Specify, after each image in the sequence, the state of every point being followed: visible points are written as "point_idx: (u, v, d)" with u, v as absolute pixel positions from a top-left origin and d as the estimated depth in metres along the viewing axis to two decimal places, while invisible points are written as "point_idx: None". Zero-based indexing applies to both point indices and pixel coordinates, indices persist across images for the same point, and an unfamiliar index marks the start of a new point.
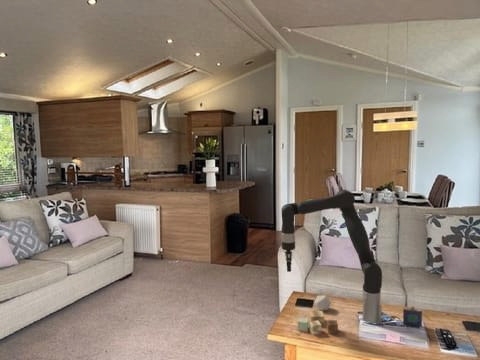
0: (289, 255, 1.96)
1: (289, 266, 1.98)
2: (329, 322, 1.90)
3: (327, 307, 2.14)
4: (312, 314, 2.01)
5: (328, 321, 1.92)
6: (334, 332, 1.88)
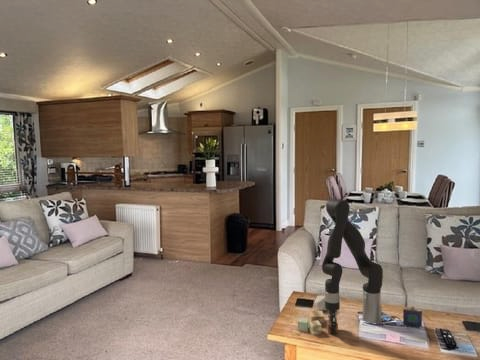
0: (334, 319, 1.83)
1: (333, 328, 1.87)
2: (328, 322, 1.90)
3: None
4: (312, 314, 2.00)
5: (328, 321, 1.92)
6: None
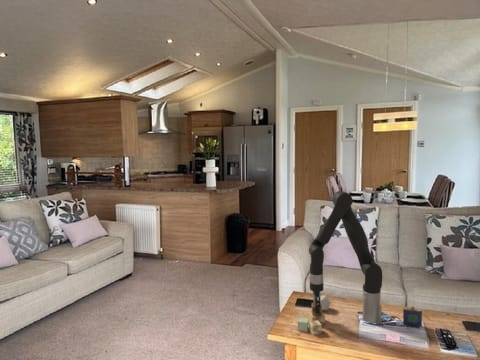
0: (318, 298, 1.93)
1: (318, 308, 1.96)
2: (313, 305, 2.01)
3: (327, 307, 2.14)
4: None
5: (313, 303, 2.02)
6: (318, 314, 1.99)
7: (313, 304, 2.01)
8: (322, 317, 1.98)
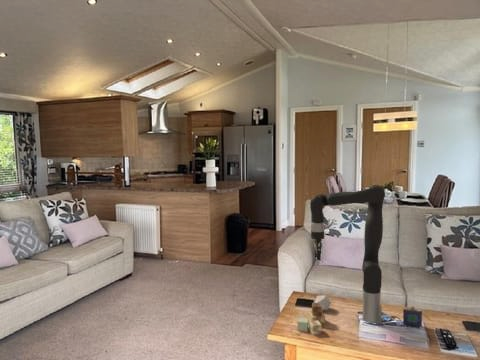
0: (319, 244, 2.02)
1: (319, 255, 2.04)
2: (313, 304, 2.01)
3: (327, 307, 2.14)
4: None
5: (313, 303, 2.02)
6: (318, 314, 1.99)
7: (313, 304, 2.02)
8: (322, 317, 1.98)
